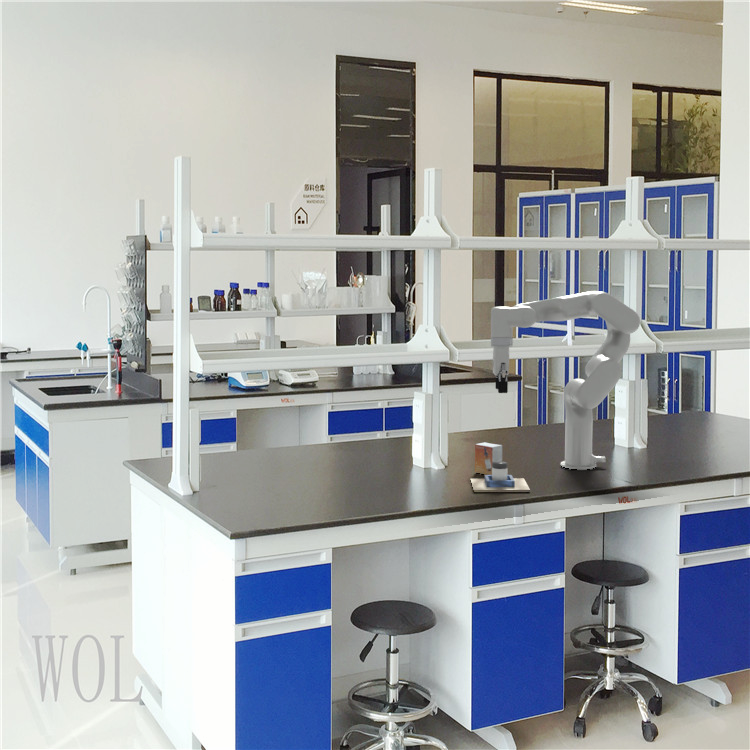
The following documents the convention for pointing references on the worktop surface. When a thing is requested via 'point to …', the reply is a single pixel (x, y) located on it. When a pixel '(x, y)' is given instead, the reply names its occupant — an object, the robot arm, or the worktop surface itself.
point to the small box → (486, 457)
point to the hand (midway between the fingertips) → (501, 390)
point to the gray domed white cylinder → (499, 470)
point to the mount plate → (499, 483)
